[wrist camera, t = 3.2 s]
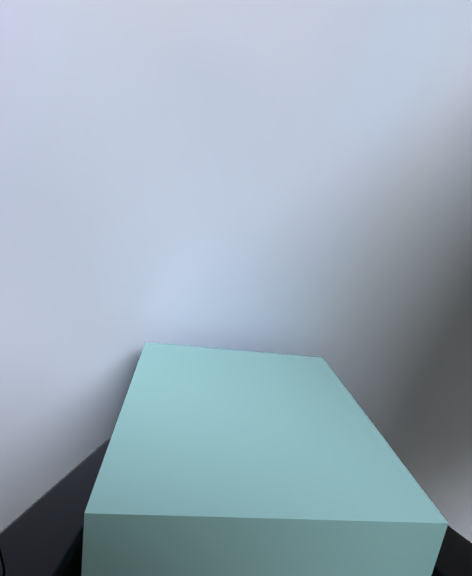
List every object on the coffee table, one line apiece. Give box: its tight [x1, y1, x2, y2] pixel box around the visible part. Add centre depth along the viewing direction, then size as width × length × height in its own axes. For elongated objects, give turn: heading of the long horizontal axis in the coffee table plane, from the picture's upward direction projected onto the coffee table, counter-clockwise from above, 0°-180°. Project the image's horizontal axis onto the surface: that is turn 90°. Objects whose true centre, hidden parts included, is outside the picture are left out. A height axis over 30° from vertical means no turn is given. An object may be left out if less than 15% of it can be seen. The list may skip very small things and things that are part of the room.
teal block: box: [81, 342, 448, 576], centre depth 7 cm, size 4×4×5 cm
